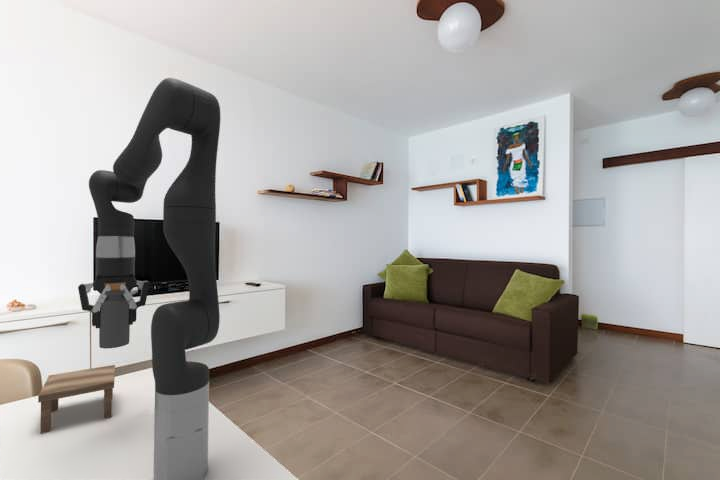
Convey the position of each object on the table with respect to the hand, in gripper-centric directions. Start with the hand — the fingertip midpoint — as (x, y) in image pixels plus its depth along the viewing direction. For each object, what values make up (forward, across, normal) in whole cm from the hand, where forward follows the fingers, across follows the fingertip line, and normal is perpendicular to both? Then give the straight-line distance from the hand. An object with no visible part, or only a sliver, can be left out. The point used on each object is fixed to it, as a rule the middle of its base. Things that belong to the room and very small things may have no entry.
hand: (114, 325), depth 80 cm
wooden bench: (+24, -7, +13) cm, 29 cm away
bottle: (+5, 0, 0) cm, 5 cm away
